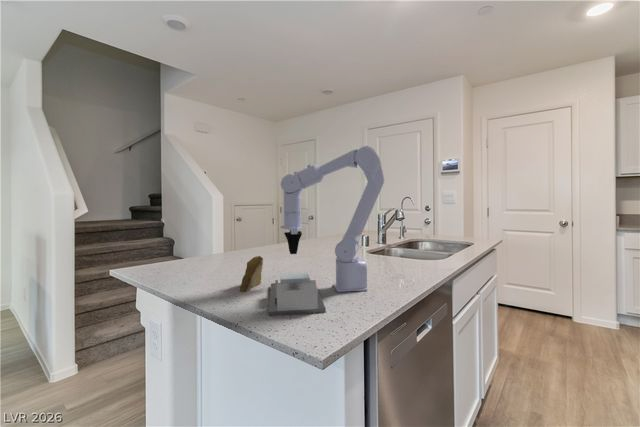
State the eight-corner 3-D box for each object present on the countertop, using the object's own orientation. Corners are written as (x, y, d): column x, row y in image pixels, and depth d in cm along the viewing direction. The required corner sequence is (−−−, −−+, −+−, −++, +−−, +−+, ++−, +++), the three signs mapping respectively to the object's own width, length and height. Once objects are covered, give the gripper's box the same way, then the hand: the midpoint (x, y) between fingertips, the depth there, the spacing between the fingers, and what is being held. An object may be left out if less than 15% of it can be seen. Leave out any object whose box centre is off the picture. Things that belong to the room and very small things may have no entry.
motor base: (313, 284, 101) (313, 266, 101) (325, 312, 76) (325, 288, 76) (271, 286, 99) (270, 268, 99) (268, 315, 74) (268, 291, 74)
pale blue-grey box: (314, 288, 92) (313, 271, 91) (318, 298, 83) (317, 279, 83) (280, 290, 90) (280, 273, 90) (280, 300, 81) (280, 281, 81)
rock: (247, 287, 91) (273, 276, 98) (234, 262, 93) (260, 253, 100) (234, 301, 98) (259, 290, 105) (222, 278, 100) (248, 268, 107)
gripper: (279, 211, 106) (280, 250, 107) (280, 213, 92) (281, 258, 92) (300, 211, 107) (300, 249, 108) (304, 213, 93) (304, 257, 93)
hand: (293, 253), depth 100 cm, fingers closed
